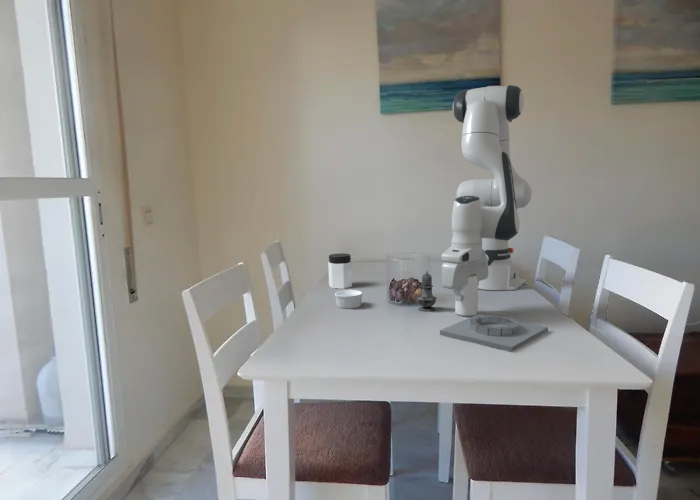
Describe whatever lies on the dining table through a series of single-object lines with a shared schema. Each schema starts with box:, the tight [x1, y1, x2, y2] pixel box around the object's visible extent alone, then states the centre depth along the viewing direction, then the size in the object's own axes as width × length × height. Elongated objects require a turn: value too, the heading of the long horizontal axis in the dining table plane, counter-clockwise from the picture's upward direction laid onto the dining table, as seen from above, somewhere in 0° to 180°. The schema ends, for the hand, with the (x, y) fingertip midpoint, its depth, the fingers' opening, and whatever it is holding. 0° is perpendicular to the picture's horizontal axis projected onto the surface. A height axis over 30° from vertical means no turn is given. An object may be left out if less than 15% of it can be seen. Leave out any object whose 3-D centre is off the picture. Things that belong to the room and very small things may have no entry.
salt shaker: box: [417, 271, 437, 313], centre depth 156 cm, size 6×6×12 cm
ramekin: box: [334, 289, 363, 310], centre depth 163 cm, size 9×9×4 cm
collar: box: [470, 314, 519, 336], centre depth 132 cm, size 12×12×2 cm
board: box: [439, 313, 549, 353], centre depth 132 cm, size 20×20×1 cm
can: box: [454, 274, 479, 318], centre depth 149 cm, size 6×6×12 cm
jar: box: [327, 253, 353, 290], centre depth 190 cm, size 9×8×12 cm
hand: (466, 298), depth 149 cm, fingers closed on can, 6 cm apart
